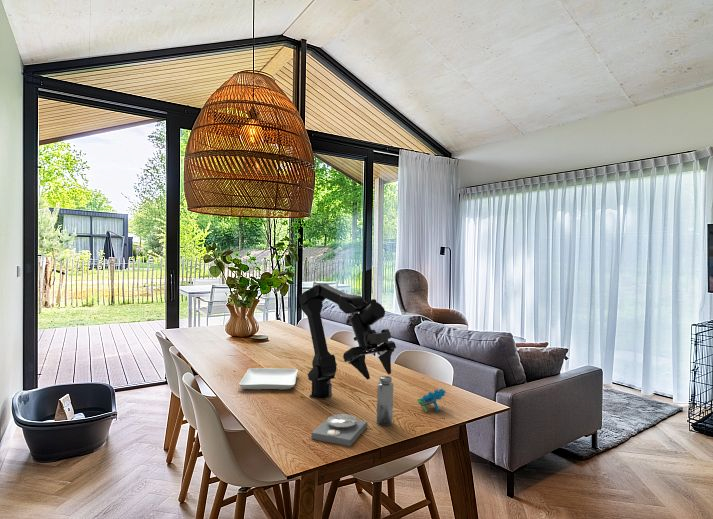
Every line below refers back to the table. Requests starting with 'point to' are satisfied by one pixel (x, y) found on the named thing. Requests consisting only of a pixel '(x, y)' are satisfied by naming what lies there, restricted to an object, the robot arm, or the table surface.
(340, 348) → the table surface
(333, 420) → the scale pan
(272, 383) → the salad plate
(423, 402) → the turquoise toy figurine
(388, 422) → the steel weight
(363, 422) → the scale
